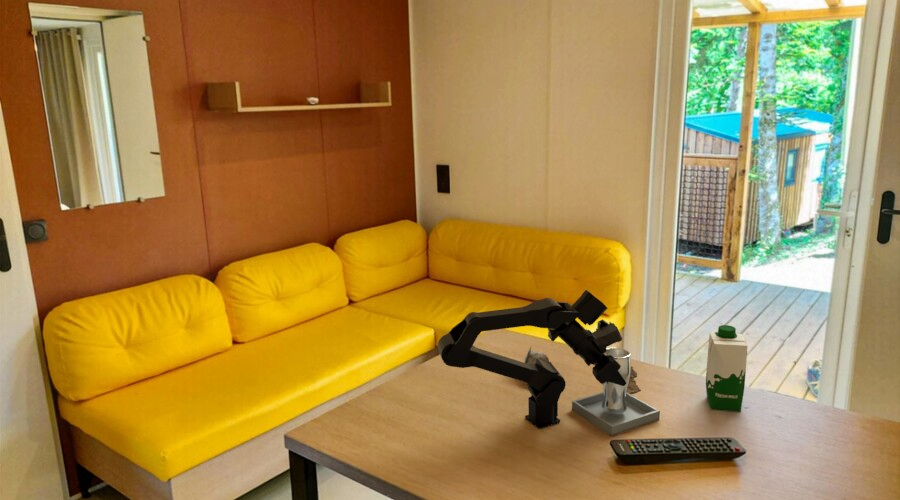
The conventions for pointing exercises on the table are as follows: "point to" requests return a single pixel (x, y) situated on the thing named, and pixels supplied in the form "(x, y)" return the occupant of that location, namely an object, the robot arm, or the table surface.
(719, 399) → the milk carton
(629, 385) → the wooden fragment
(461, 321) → the robot arm
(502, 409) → the table surface
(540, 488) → the table surface
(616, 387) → the metal tumbler
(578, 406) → the tray
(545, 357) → the caster wheel
